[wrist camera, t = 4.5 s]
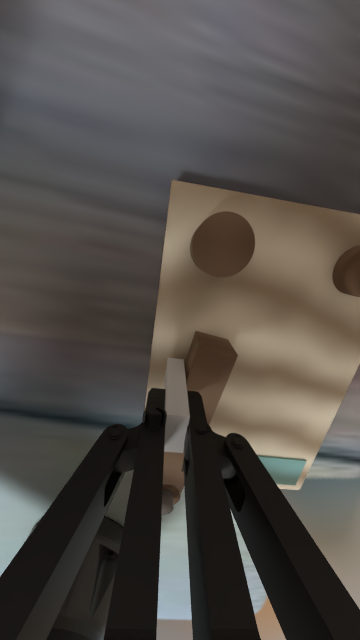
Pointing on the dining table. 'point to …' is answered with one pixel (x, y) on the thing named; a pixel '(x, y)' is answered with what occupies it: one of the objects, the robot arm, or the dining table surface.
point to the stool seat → (264, 314)
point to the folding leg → (209, 380)
